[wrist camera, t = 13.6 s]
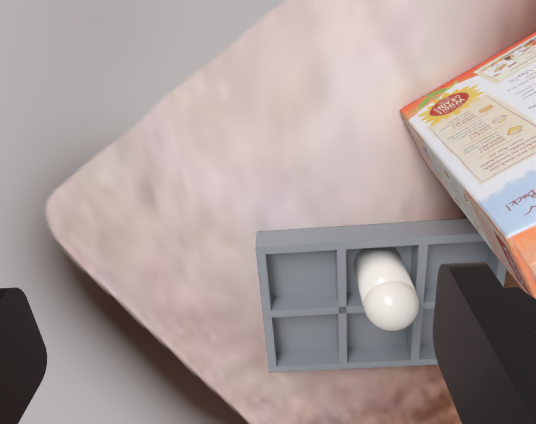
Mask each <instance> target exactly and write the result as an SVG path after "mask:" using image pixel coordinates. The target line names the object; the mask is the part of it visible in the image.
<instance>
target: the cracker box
mask: <svg viewBox="0 0 536 424" xmlns="http://www.w3.org/2000/svg"><path fill="white" fill-rule="evenodd" d="M400 113H401V115H402V117H403V119H404V121H405V123H406V125H407V127H408V129H409V131H410V133H411V135H412V137H413V139H414V141H415V143H416V145H417V147H418V149H419V151H420V153H421V155H422V157H423V159H424V161H425V163H426V164H427V165H428V167H429V168H430V169H431V170H432V172H433V173H434V174H435V176H436V177H437V178H438V180H439V181H440V183H441V184H442V185H443V187H444V188H445V189H446V191H447V192H448V193H449V194H450V196H451V197H452V198H453V200H454V201H455V202H456V204H457V205H458V206H459V207H460V209H461V210H462V211H463V213H464V214H465V215H466V216H467V218H468V219H469V220H470V222H471V223H472V224H473V226H474V227H475V228H476V230H477V231H478V232H479V234H480V235H481V236H482V238H483V239H484V240H485V242H486V243H487V244H488V246H489V247H490V248H491V250H492V251H493V252H494V254H495V255H496V256H497V258H498V259H499V260H500V261H501V263H502V264H503V265H504V266H505V268H506V269H507V270H508V272H509V273H510V274H511V275H512V277H513V278H514V279H515V281H516V282H517V283H518V285H519V286H520V287H521V289H522V290H523V291H524V292H526V293H527V294H529V295H530V296H532V297H533V298H535V299H536V32H534V33H533V34H531V35H529V36H527V37H526V38H524V39H522V40H520V41H519V42H517V43H515V44H513V45H512V46H510V47H508V48H507V49H505V50H503V51H501V52H500V53H498V54H496V55H494V56H493V57H491V58H489V59H487V60H486V61H484V62H482V63H481V64H479V65H477V66H475V67H474V68H472V69H470V70H468V71H466V72H465V73H463V74H461V75H459V76H458V77H456V78H454V79H452V80H451V81H449V82H447V83H446V84H444V85H442V86H440V87H439V88H437V89H435V90H433V91H432V92H430V93H428V94H427V95H425V96H423V97H421V98H419V99H418V100H416V101H414V102H412V103H411V104H409V105H407V106H405V107H404V108H402V109H401V110H400Z"/></svg>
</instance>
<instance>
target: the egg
mask: <svg viewBox="0 0 536 424" xmlns="http://www.w3.org/2000/svg"><path fill="white" fill-rule="evenodd" d="M353 268H354V272H355V276H356V280H357V284H358V288H359V292H360V296H361V300H362V304H363V308H364V311H365V314H366V316H367V318H368V319H369V320H370V321H371V323H373V324H374V325H375V326H377V327H378V328H380V329H383V330H386V331H398V330H402V329H404V328H406V327H407V326H409V325H410V324H411V323H412V322H413V321H414V319H415V318H416V316H417V313H418V310H419V300H418V296H417V293H416V291H415V288H414V286H413V284H412V281H411V279H410V276H409V274H408V272H407V269H406V267H405V265H404V262H403V260H402V258H401V255H400V253H399V252H398V250H397V249H396V248H394V247H378V248H363V249H361V250H360V251H359V252H358V254H357V255H356V257H355V259H354V262H353Z"/></svg>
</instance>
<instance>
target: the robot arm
mask: <svg viewBox="0 0 536 424" xmlns="http://www.w3.org/2000/svg"><path fill="white" fill-rule="evenodd" d="M433 344H434V350H435V355H436V359H437V362H438V364H439V367H440V369H441V372H442V375H443V377H444V380H445V382H446V385H447V387H448V390H449V392H450V395H451V397H452V400H453V402H454V405H455V407H456V410H457V412H458V415H459V417H460V420H461V422H462V424H536V299H535V298H533V297H532V296H530V295H529V294H527V293H526V292H524V291H523V290H521V289H520V288H518V287H513V288H504V287H503V286H502V284H501V283H500V281H499V280H498V278H497V277H496V276H495V274H494V273H493V271H492V270H491V268H490V267H489V266H488V264H487V263H485V262H465V263H448V264H441V265H440V267H439V270H438V277H437V287H436V298H435V308H434V319H433ZM46 366H47V352H46V347H45V344H44V342H43V339H42V336H41V334H40V331H39V329H38V326H37V323H36V321H35V318H34V316H33V313H32V310H31V308H30V305H29V303H28V300H27V298H26V296H25V294H24V292H23V291H22V290H21V289H19V288H0V424H18V423H19V421H20V419H21V417H22V415H23V414H24V412H25V410H26V408H27V406H28V405H29V403H30V401H31V399H32V398H33V396H34V394H35V392H36V390H37V389H38V387H39V385H40V383H41V381H42V379H43V377H44V374H45V371H46Z"/></svg>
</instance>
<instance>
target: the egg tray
mask: <svg viewBox="0 0 536 424" xmlns="http://www.w3.org/2000/svg"><path fill="white" fill-rule="evenodd" d="M378 247H394V248H396V249H397V250H398V252H399V253H400V255H401V258H402V260H403V262H404V265H405V267H406V269H407V272H408V274H409V276H410V279H411V281H412V284H413V286H414V288H415V291H416V293H417V296H418V300H419V310H418V313H417V316H416V318H415V319H414V321H413V322H412V323H411V324H410V325H409V326H407V327H406V328H404V329H402V330H398V331H386V330H383V329H380V328H378V327H377V326H375V325H374V324H373V323H371V321H370V320H369V319H368V318H367V316H366V314H365V311H364V308H363V304H362V300H361V296H360V292H359V288H358V284H357V280H356V276H355V272H354V268H353V262H354V259H355V257H356V255H357V254H358V252H359V251H360V250H361V249H363V248H378ZM256 256H257V265H258V274H259V283H260V292H261V301H262V310H263V319H264V329H265V338H266V347H267V356H268V365H269V373H272V372H293V371H314V370H335V369H356V368H377V367H398V366H419V365H439V364H438V362H437V359H436V355H435V350H434V344H433V319H434V308H435V298H436V287H437V277H438V270H439V267H440V265H441V264H448V263H465V262H485V263H487V264H488V266H489V267H490V268H491V270H492V271H493V273H494V274H495V276H496V277H497V278H498V280H499V281H500V283H501V284H502V286H503V287H504V282H505V276H506V270H507V269H506V268H505V266H504V265H503V264H502V263H501V261H500V260H499V259H498V258H497V256H496V255H495V254H494V252H493V251H492V250H491V248H490V247H489V246H488V244H487V243H486V242H485V240H484V239H483V238H482V236H481V235H480V234H479V232H478V231H477V230H476V228H475V227H474V226H473V224H472V223H471V222H470V220H469V219H468V218H466V219H450V220H434V221H418V222H402V223H386V224H370V225H354V226H339V227H323V228H307V229H291V230H275V231H259V232H257V235H256Z"/></svg>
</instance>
